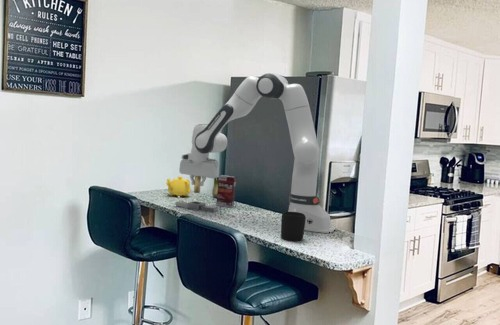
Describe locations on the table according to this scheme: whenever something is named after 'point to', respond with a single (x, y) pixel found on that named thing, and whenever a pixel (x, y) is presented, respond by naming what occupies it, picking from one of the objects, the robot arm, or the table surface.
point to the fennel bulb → (215, 187)
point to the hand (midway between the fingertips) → (197, 185)
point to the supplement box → (226, 191)
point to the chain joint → (197, 206)
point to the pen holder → (292, 226)
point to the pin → (197, 184)
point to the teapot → (178, 186)
